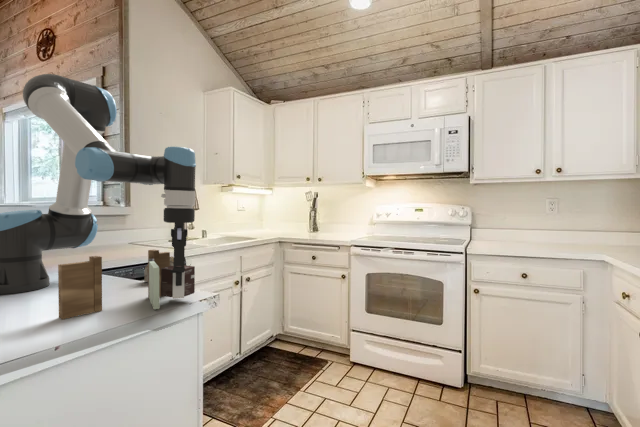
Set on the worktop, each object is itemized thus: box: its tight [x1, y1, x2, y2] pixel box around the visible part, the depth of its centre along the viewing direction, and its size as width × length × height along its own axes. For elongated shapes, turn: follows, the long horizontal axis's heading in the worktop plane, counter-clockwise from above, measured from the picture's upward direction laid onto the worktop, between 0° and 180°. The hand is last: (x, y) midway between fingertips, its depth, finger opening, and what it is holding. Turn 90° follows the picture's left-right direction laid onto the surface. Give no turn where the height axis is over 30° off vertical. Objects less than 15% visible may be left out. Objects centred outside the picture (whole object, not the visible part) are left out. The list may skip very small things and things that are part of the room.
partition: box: [57, 249, 171, 320], centre depth 87 cm, size 3×26×13 cm, turn 147°
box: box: [161, 265, 196, 298], centre depth 90 cm, size 6×6×7 cm
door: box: [148, 259, 160, 310], centre depth 88 cm, size 12×1×11 cm, turn 32°
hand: (178, 293), depth 91 cm, fingers closed on box, 8 cm apart
